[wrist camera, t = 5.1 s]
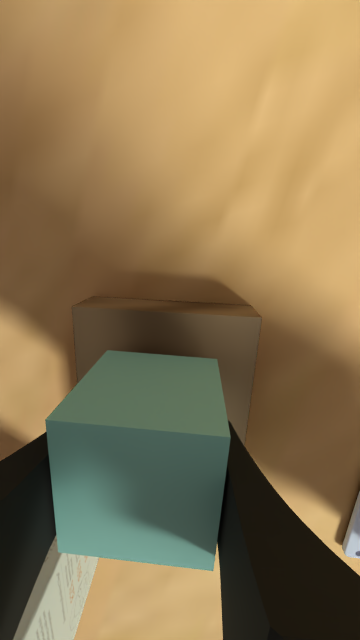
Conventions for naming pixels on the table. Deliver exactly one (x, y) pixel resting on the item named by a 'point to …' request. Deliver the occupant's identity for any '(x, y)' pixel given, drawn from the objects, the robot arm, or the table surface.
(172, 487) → the teal block
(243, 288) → the table surface
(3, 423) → the table surface
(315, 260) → the table surface
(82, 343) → the walnut slab
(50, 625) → the small box
